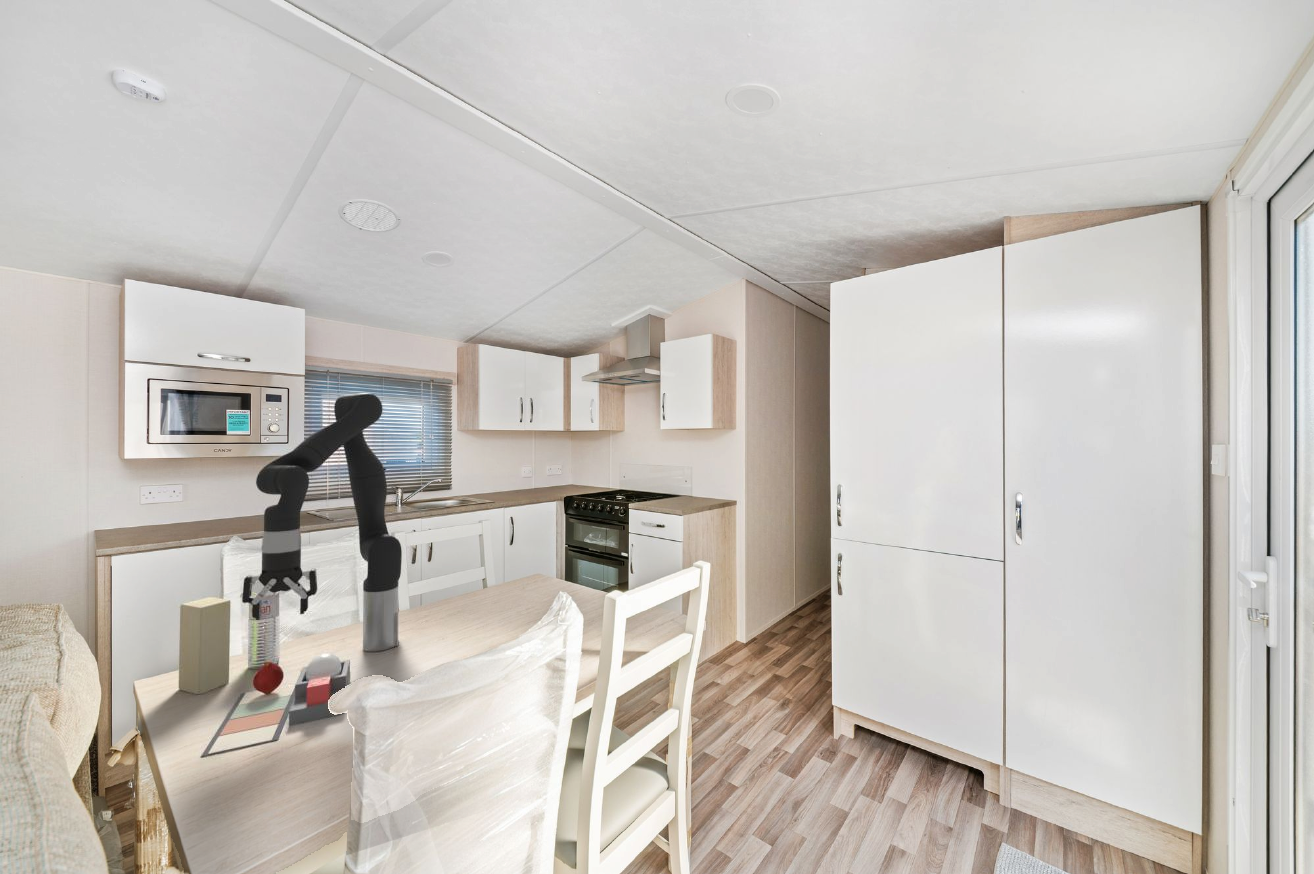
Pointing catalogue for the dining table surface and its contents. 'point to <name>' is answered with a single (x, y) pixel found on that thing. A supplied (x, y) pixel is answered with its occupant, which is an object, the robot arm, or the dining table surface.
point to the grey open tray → (317, 711)
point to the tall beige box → (204, 644)
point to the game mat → (253, 720)
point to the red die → (318, 690)
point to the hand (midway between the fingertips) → (280, 616)
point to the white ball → (323, 667)
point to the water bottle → (264, 630)
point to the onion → (268, 678)
